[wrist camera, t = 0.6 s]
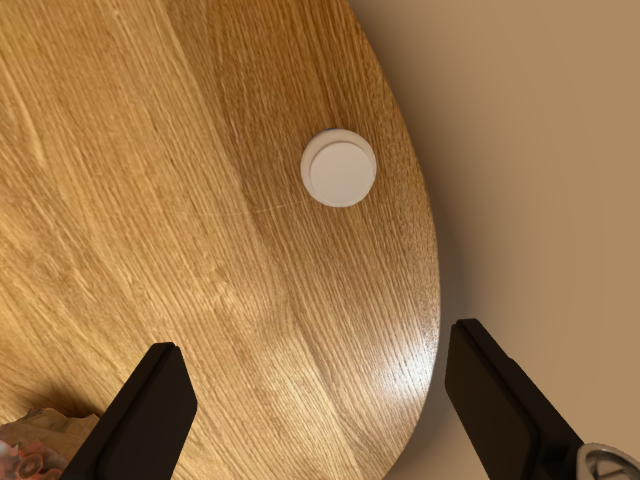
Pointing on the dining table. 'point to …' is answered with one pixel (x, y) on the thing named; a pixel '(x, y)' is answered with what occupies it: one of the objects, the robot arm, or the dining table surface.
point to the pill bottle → (338, 167)
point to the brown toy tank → (41, 444)
